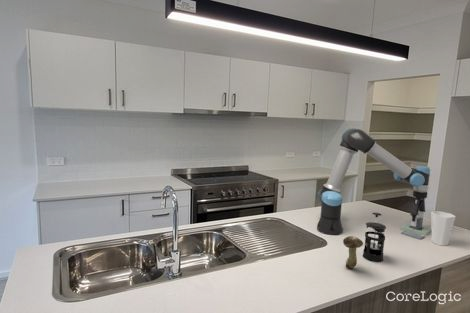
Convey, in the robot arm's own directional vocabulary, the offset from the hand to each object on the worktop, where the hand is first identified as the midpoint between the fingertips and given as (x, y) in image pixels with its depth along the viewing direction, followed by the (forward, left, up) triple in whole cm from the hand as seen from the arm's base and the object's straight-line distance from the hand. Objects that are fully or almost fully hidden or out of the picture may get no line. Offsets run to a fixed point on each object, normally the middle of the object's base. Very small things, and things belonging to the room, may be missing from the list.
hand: (416, 223), depth 184 cm
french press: (-2, -61, -4) cm, 61 cm away
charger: (0, 0, -4) cm, 4 cm away
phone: (+2, -12, -5) cm, 13 cm away
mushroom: (-5, -80, -4) cm, 81 cm away
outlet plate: (0, 0, -4) cm, 4 cm away
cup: (+15, -13, -4) cm, 20 cm away
